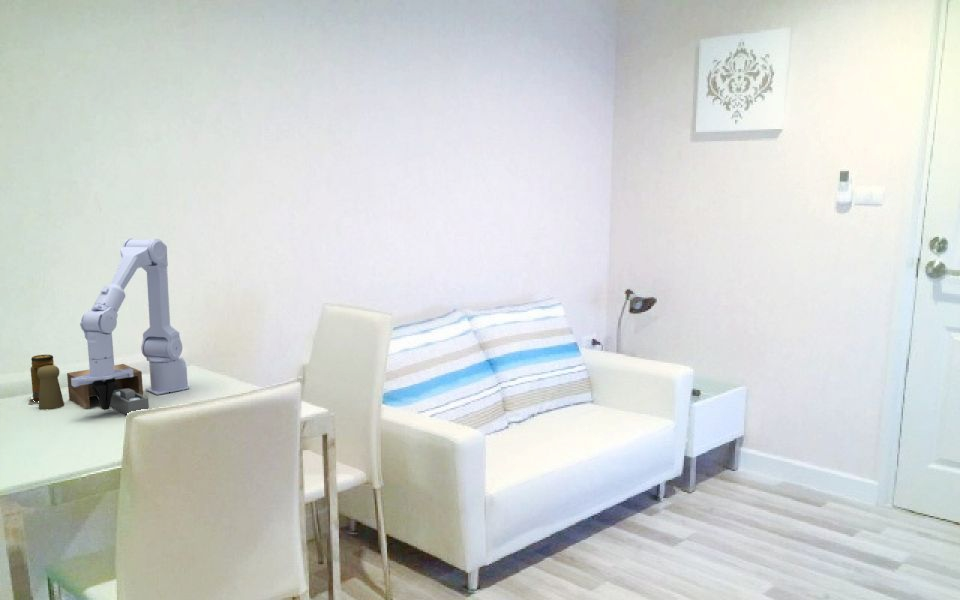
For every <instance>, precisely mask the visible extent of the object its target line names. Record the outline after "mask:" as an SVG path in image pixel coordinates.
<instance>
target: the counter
mask: <svg viewBox="0 0 960 600" xmlns="http://www.w3.org/2000/svg"><path fill="white" fill-rule="evenodd" d="M114 368H115V370H123V369H132V370H133V377H126V378H120V379H115V381H117V386H116V388H115V390H120V389H126V388H130V389H132V390H134V391H135V392H136V393H138V394H140V395H142V396H144V388H143V375H142V374H143V373H142V371H141V370H139V369H137V368H134V367H132V366H130V365H127V364H125V363H121V364H114ZM88 374H90V368H89V369H85V370H78V371H72V372H67V373H66V377H67V378H66V379H67V389H68V400H69V401H71V402H73V403H74V404H76V405H78V406H79V405H80V407H82V408H83V409H85V410H89V409H88V408H90V409H91V407H90V404H91V403H90V396H91V397H97V395H96V394H95V392H94V390H93V389H92V387H91V386H90V384H86V385H80V386H78V387H73V386H72V385H71V378H76V377H80V376H84V375H88ZM115 390H114V391H115Z"/></svg>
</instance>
